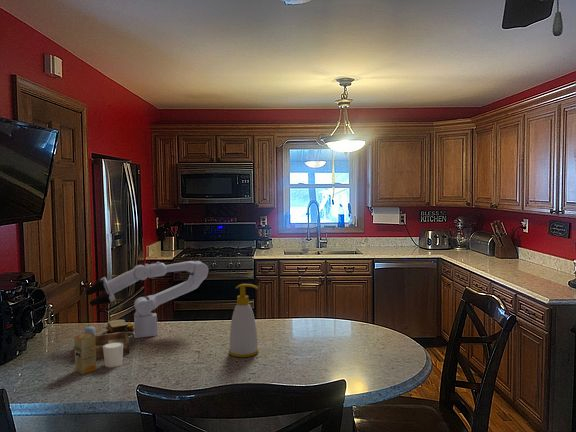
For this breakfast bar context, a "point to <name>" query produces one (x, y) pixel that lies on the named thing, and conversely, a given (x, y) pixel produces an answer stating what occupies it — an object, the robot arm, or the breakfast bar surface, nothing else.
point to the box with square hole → (111, 338)
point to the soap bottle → (243, 327)
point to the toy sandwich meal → (119, 327)
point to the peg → (90, 330)
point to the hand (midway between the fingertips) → (88, 298)
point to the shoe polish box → (85, 353)
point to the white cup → (113, 354)
